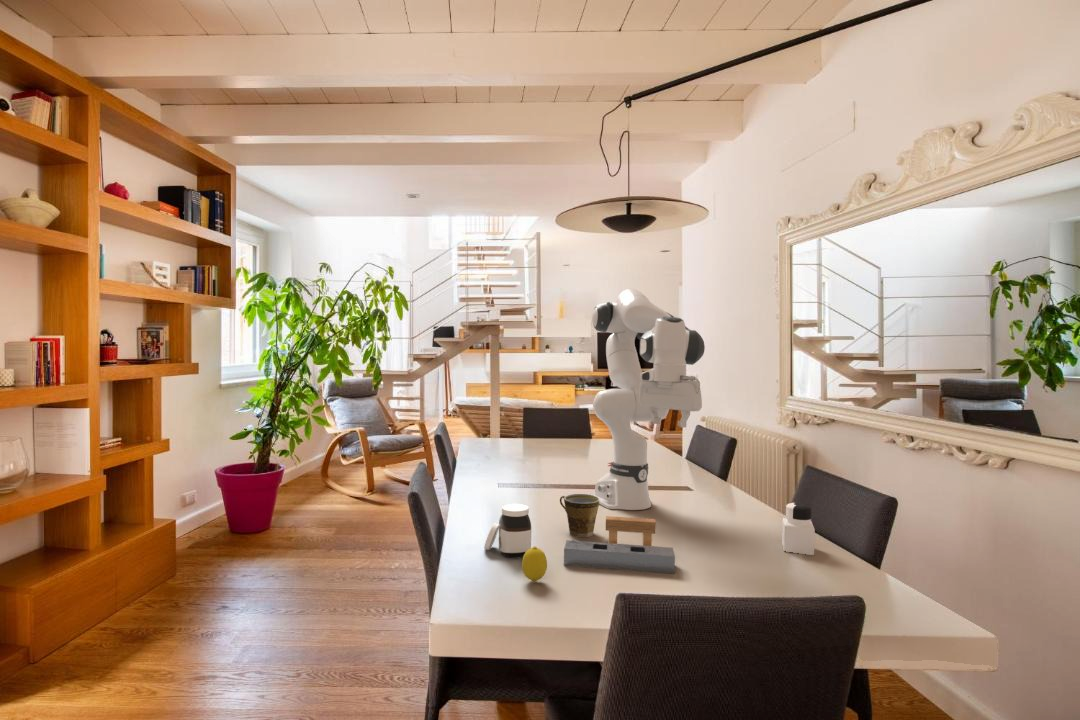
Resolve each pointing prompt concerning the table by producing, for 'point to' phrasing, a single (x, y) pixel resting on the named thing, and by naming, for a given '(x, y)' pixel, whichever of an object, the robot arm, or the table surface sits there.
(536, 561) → the lemon
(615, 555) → the rail
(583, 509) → the ceramic cup
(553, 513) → the table surface
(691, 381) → the robot arm
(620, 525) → the wooden arch block
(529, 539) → the spread jar
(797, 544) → the medicine bottle
